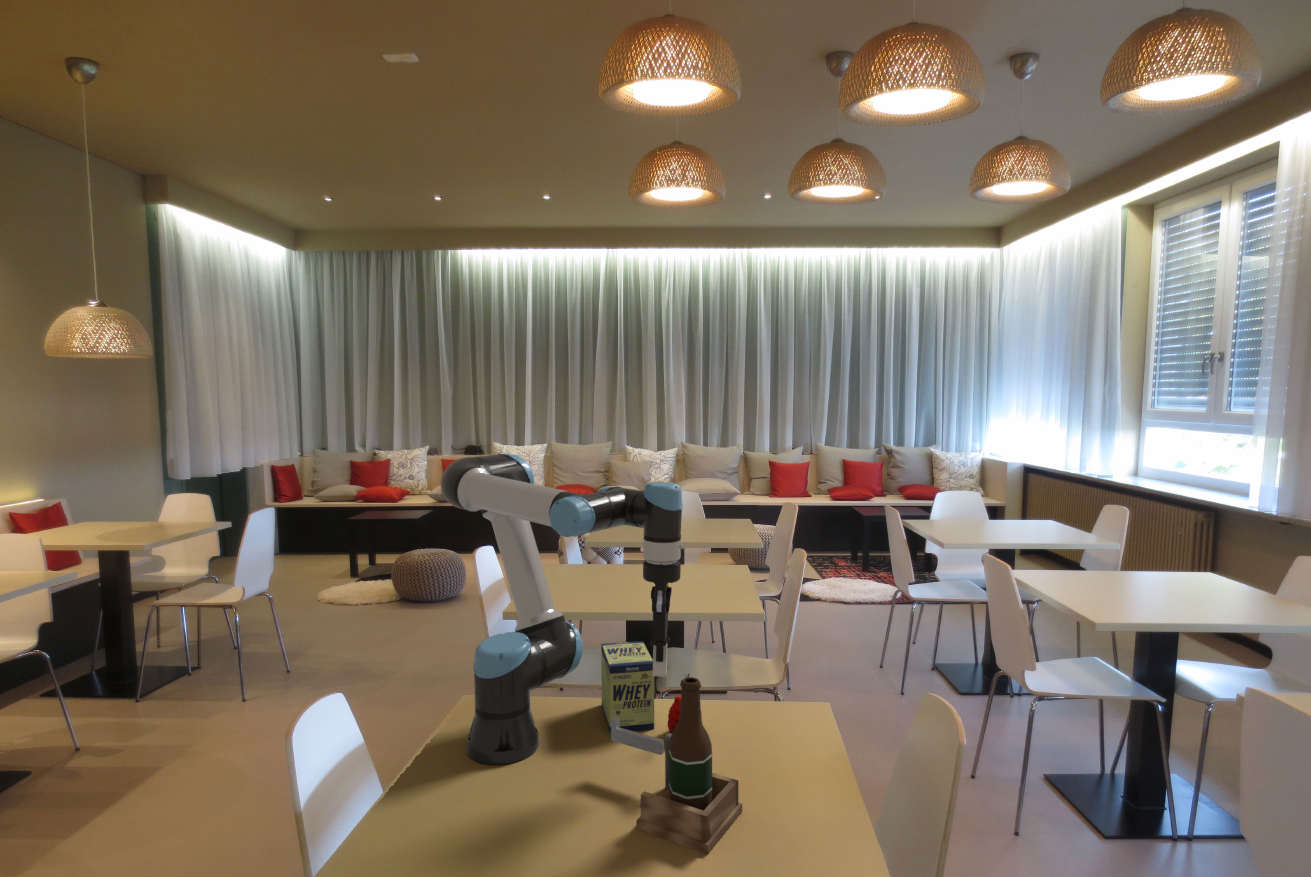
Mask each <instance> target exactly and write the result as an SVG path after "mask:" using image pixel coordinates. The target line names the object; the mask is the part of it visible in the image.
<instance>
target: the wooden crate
mask: <svg viewBox="0 0 1311 877" xmlns="http://www.w3.org/2000/svg"><path fill="white" fill-rule="evenodd" d="M664 735H665V736H664V737H665V738H664V753H665V754H664V755H665V756H664V759H665V760H664V761H665V762H664V770H665V771H664V774H665V775H664V777H665V778H664V785H665V786H664V787H665V789H664V790H665V792H664V793H662V795H657V794H654V793H650V792H648V791H645V790H644V791H643V792H641V794H640V815H639V817H638V818H637V819H636V821H635V822H636V824H635V826H636V829H638V830H640V831H643V832H646V833H648V834H651V835H654V836H657V837H659V838H661V839H665V840H668V841H670V842H673V843H676V844H679V845H682V846H685V847H687V848H690V849H692V850H696V851H698V852H701V853H704V854H707V855H709V854H710V853H711V852H712V850H713V849H714V848H715V846H716V845H717V844H718V843H719V842H720V840H721V839H722V838H723V837H724V835H725V834H726V833H727V831H728V830H729V829H730V828H731V827H732V826H733V825H734V823H735V822H736V820H737V819H738V818H739V816H740V815H741V814H742V813H743V803H741V802H739V780H738V779H734V778H731V777H728V776H725V775H722V774H719V773H718V774H717V773H714V772H712V802H711V803H710V804H709V805H708V806H707V808H706V809H705V810H704V811H703V810H700V809H697V808H694V807H691V806H688V805H685V804H682V803H679V802H676V801H673V800H670V799H669V742H670V738H671V735H672V734H671V733H670V732H669V733H666V734H664Z"/></svg>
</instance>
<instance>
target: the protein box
mask: <svg viewBox="0 0 1311 877" xmlns="http://www.w3.org/2000/svg"><path fill="white" fill-rule="evenodd" d="M600 649H601V655H600V656H601V662H600V664H601V706H602V710H603V714H604V717H605V721H606V725H607V728H608V731H609V733H610V734H611V718H613V717H614V716H615V717H618V718H619V727H620V728H623V729H627V730H630V731H634V732H637V731H645V730H654V729H655V676H653V657H652V656H651V654H650V652H649V650H648V648H647V646H646V644H645V643H644V641H643V640H642V641H624V642H610V643H609V642H607V643H601V648H600Z"/></svg>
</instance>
